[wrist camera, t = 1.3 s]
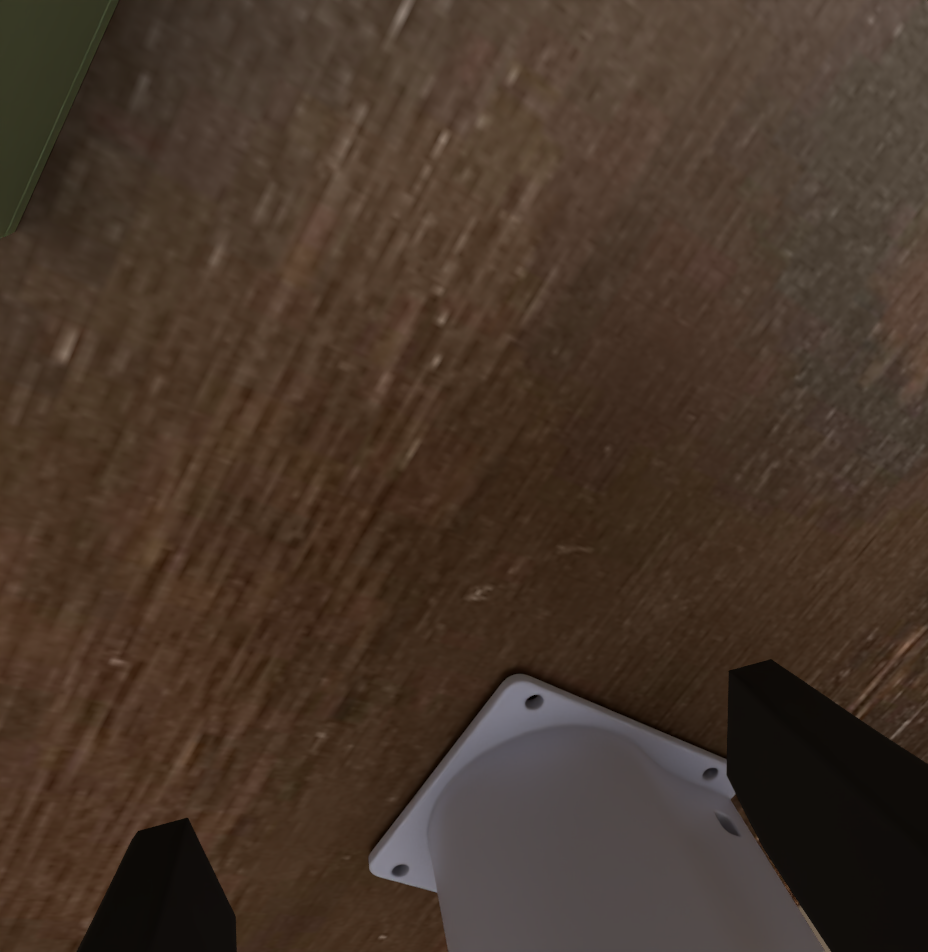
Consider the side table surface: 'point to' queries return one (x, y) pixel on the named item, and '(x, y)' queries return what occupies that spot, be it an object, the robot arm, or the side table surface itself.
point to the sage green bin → (40, 86)
